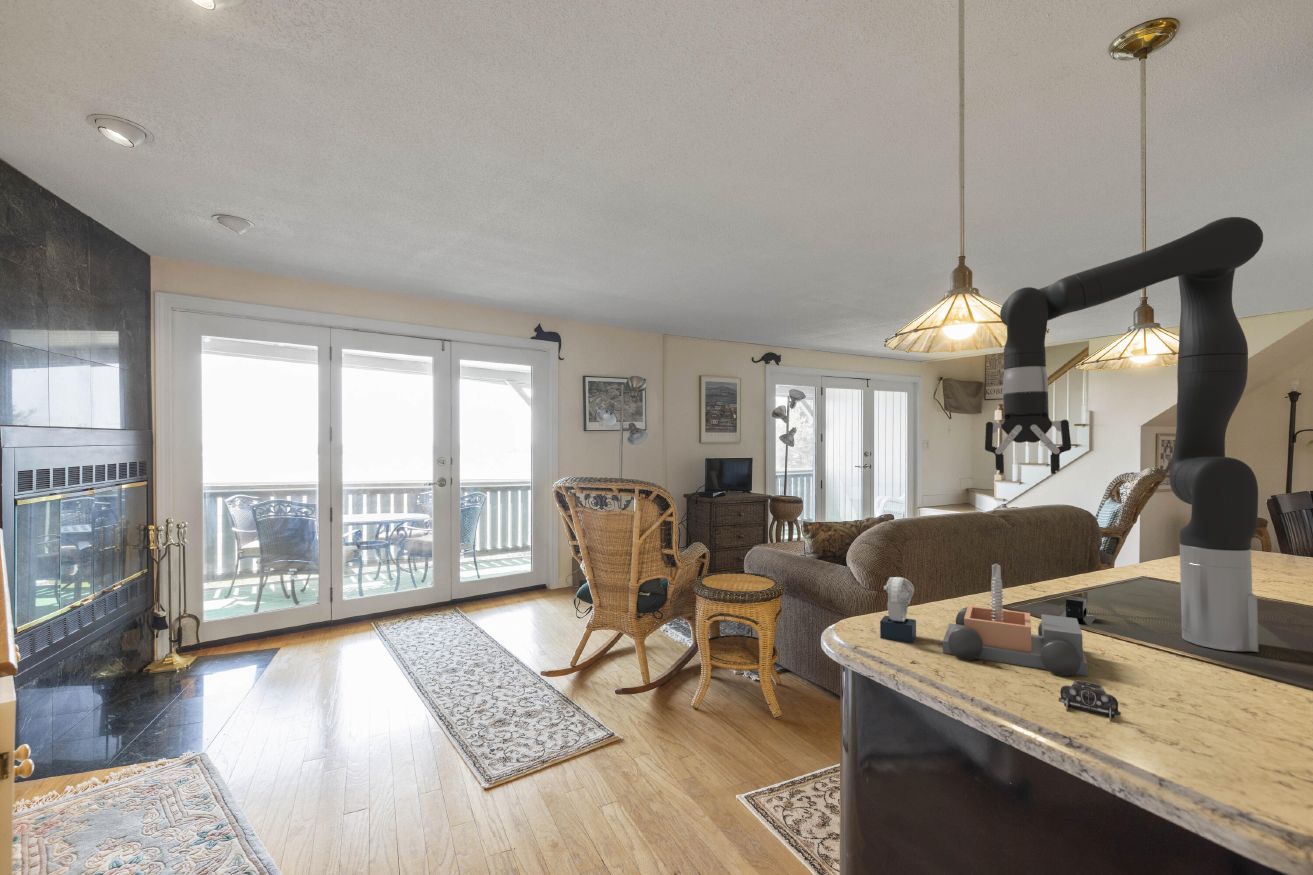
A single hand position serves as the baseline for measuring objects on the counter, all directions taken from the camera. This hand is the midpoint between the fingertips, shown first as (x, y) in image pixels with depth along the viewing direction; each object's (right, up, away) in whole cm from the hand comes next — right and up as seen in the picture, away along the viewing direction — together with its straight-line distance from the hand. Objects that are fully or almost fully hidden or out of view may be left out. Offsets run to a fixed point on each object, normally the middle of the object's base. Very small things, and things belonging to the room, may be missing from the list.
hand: (1027, 473), depth 114 cm
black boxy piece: (+13, -31, +5) cm, 34 cm away
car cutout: (-13, -30, -40) cm, 52 cm away
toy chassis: (-12, -30, -15) cm, 36 cm away
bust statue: (-28, -30, -7) cm, 42 cm away
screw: (-14, -28, -14) cm, 34 cm away
